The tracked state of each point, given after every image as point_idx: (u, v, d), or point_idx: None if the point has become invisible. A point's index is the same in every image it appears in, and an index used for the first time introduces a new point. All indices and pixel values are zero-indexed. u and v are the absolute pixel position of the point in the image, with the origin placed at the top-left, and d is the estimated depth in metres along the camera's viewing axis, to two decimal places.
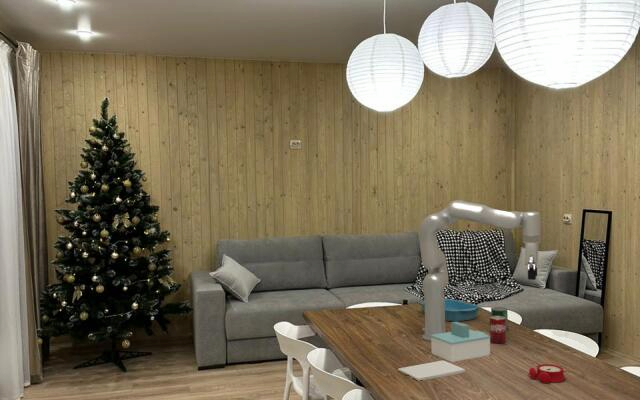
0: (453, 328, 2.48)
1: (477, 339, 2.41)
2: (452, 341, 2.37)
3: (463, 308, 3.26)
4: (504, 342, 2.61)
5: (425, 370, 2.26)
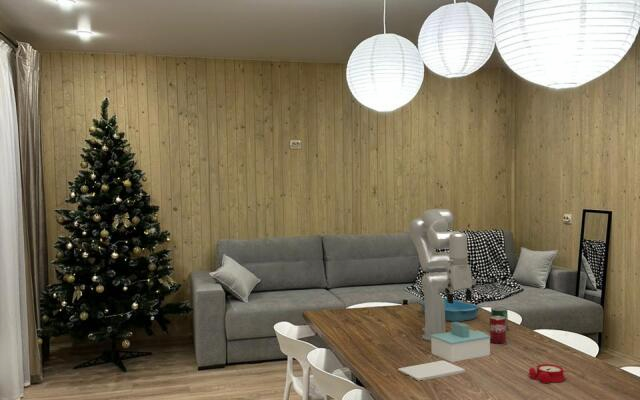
0: (453, 328, 2.48)
1: (477, 339, 2.41)
2: (452, 341, 2.37)
3: (463, 308, 3.26)
4: (504, 342, 2.61)
5: (425, 370, 2.26)
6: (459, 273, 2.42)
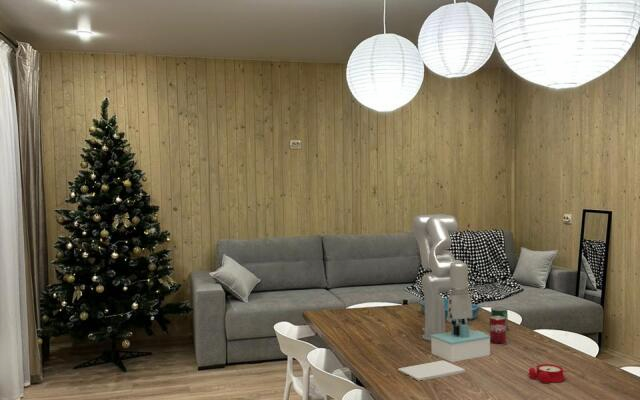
0: None
1: (477, 339, 2.41)
2: (452, 341, 2.37)
3: None
4: (504, 342, 2.61)
5: (425, 370, 2.26)
6: (460, 303, 2.43)
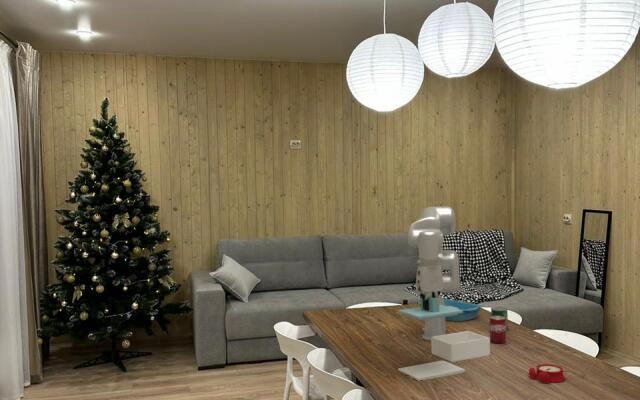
0: (422, 303, 2.28)
1: (448, 313, 2.21)
2: (420, 315, 2.17)
3: (461, 308, 3.27)
4: (504, 342, 2.61)
5: (425, 370, 2.26)
6: (429, 275, 2.23)
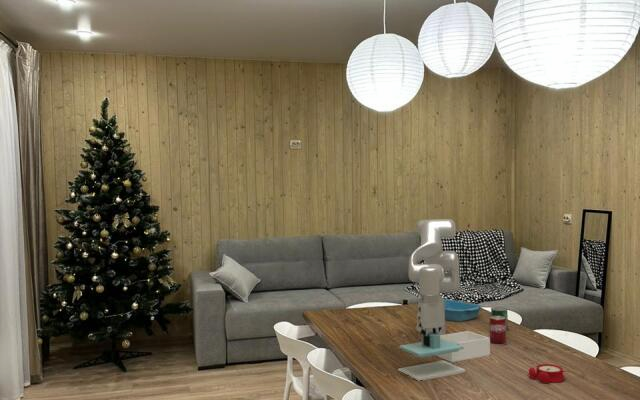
0: None
1: (449, 350, 2.21)
2: (421, 352, 2.17)
3: (461, 308, 3.27)
4: (504, 342, 2.61)
5: (425, 370, 2.26)
6: (430, 311, 2.23)
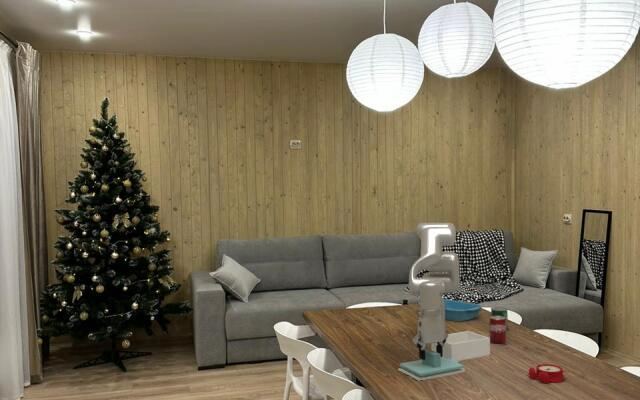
0: None
1: (449, 369, 2.22)
2: (421, 372, 2.18)
3: (460, 308, 3.28)
4: (504, 342, 2.61)
5: None
6: (430, 326, 2.23)
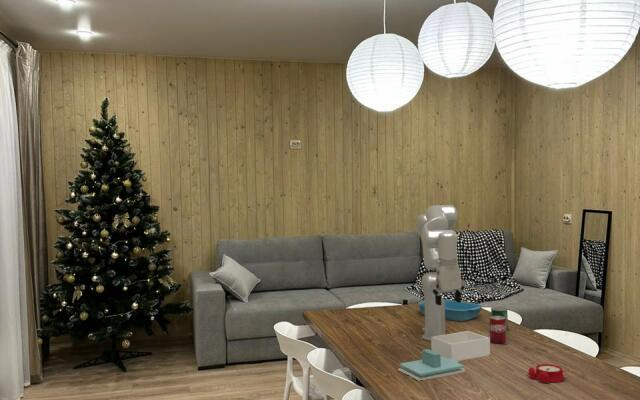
0: (424, 357, 2.29)
1: (449, 369, 2.22)
2: (421, 372, 2.18)
3: (459, 308, 3.28)
4: (504, 342, 2.61)
5: None
6: (448, 274, 2.34)
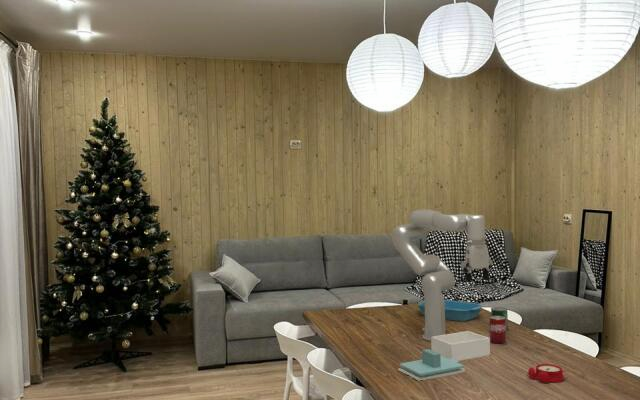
0: (424, 357, 2.29)
1: (449, 369, 2.22)
2: (421, 372, 2.18)
3: (458, 307, 3.29)
4: (504, 342, 2.61)
5: None
6: (477, 253, 2.53)
